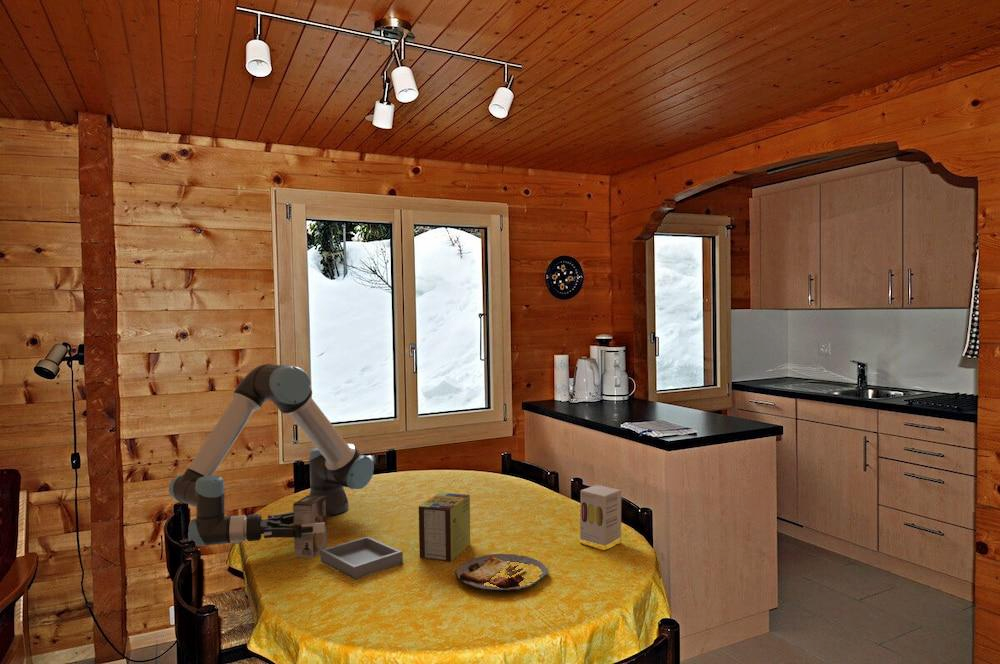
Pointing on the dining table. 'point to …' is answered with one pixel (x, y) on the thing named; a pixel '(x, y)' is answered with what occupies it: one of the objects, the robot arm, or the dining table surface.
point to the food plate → (495, 571)
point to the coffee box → (307, 513)
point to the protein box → (444, 526)
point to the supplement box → (600, 514)
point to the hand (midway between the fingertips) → (325, 521)
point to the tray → (361, 557)
